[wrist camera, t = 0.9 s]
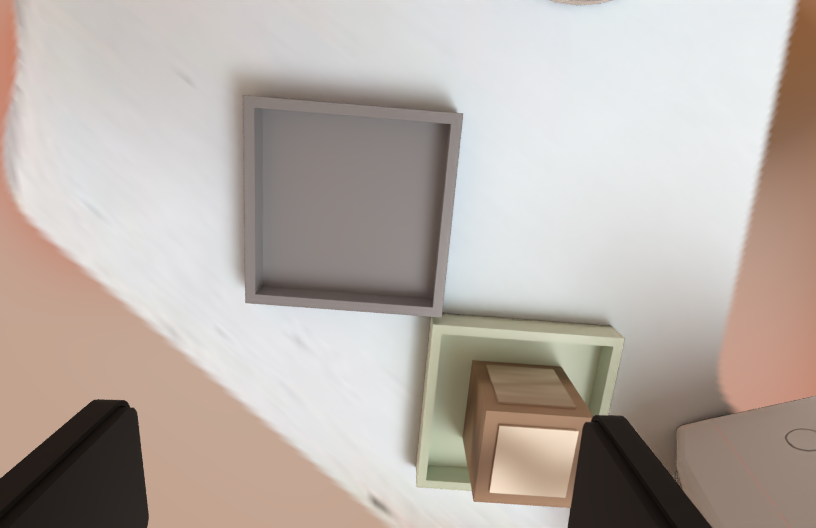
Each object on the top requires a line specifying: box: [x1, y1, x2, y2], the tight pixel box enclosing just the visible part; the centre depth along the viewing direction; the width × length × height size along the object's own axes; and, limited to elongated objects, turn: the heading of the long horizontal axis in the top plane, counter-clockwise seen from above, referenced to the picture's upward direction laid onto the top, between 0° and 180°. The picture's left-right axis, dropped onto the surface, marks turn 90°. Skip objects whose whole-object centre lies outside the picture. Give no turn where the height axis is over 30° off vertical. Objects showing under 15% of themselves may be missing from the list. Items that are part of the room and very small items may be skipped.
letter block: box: [462, 360, 593, 508], centre depth 30 cm, size 6×6×6 cm
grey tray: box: [243, 95, 463, 317], centre depth 29 cm, size 12×12×2 cm
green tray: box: [416, 313, 625, 491], centre depth 33 cm, size 12×12×2 cm
